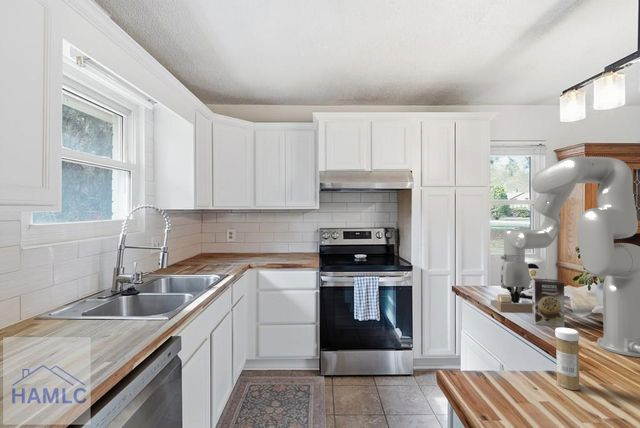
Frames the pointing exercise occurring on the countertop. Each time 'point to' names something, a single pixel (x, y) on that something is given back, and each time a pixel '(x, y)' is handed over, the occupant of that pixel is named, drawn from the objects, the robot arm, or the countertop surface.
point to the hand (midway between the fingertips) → (515, 302)
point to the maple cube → (504, 298)
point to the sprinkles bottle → (567, 358)
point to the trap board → (513, 307)
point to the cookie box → (548, 302)
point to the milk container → (534, 273)
